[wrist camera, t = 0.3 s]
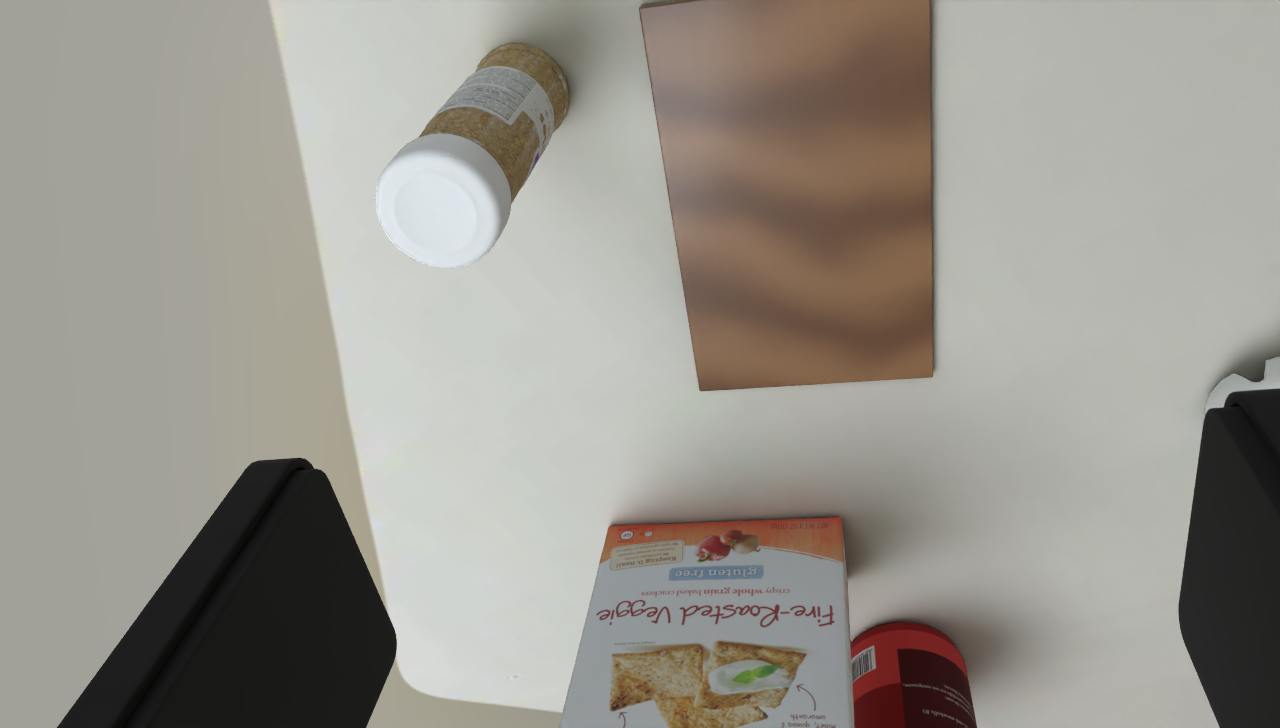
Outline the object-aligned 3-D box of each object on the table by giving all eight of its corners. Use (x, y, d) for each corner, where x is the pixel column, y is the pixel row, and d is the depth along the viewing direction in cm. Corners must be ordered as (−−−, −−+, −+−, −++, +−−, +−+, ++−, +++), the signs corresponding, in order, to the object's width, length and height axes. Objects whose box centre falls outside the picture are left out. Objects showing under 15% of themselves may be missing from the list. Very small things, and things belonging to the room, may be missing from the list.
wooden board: (640, 4, 43) (638, 7, 43) (928, -36, 41) (930, -33, 40) (700, 386, 54) (699, 391, 53) (931, 372, 51) (933, 377, 51)
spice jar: (558, 149, 47) (485, 289, 36) (465, 119, 47) (363, 251, 36) (581, 57, 45) (511, 177, 33) (483, 25, 44) (379, 134, 33)
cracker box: (841, 507, 57) (861, 858, 40) (848, 583, 60) (869, 939, 43) (603, 517, 60) (525, 850, 42) (621, 589, 63) (556, 926, 46)
